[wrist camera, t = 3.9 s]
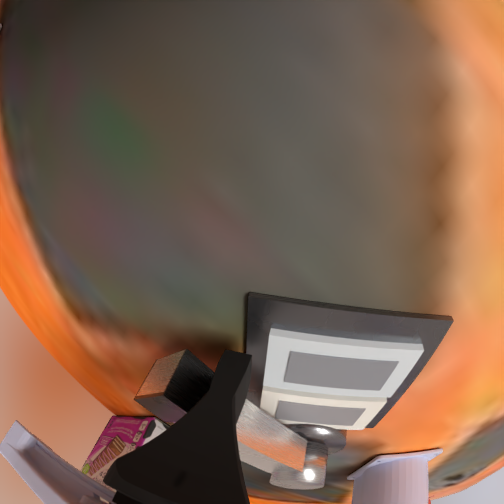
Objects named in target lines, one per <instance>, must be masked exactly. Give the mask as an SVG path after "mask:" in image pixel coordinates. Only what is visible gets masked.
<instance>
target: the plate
mask: <svg viewBox="0 0 504 504" xmlns="http://www.w3.org/2000/svg"><path fill="white" fill-rule="evenodd" d="M452 323H453V318H452V316H441V315H428V314H417V313H406V312H396V311H386V310H377V309H368V308H359V307H351V306H343V305H335V304H327V303H320V302H313V301H305V300H298V299H292V298H285V297H278V296H272V295H265V294H259V293H253V292H250V294H249V296H248V321H247V350H246V354H250V355H252V366H251V381H250V385H249V389H248V393H247V397H246V399H247V400H248V401H250V402H251V403H252V404H254V405H255V406H257V407H258V408H259V409H260V404H261V397H262V390H263V381H264V374H265V366H266V358H267V350H268V341H269V334H270V330H271V328H274V329H280V330H286V331H293V332H300V333H307V334H315V335H322V336H331V337H339V338H348V339H358V340H369V341H381V342H395V343H412V344H423V348H424V352H423V353H422V355H421V356H420V358H419V359H418V361H417V362H416V364H415V365H414V367H413V368H412V370H411V371H410V372H409V374H408V375H407V377H406V378H405V379H404V381H403V382H402V383H401V385H400V386H399V387H398V389H397V390H396V391H395V393H394V394H393V395H392V396H391V398H388V397H387V403H386V404H385V405H384V406H383V407H382V409H381V410H380V411H379V412H378V413H377V414H376V416H375V417H374V418H373V419H372V420H371V421H370V422H369V423H368V425H367V426H366V427H365V428H374V426H375V425H376V424H377V423H378V422H379V421H380V420H381V419H382V418H383V417H384V416H385V415H386V414H387V413H388V411H389V410H390V409H391V408H392V407H393V406H394V405H395V403H396V402H397V401H398V400H399V399H400V397H401V396H402V395H403V394H404V393H405V391H406V390H407V389H408V388H409V386H410V385H411V384H412V382H413V381H414V380H415V379H416V377H417V376H418V375H419V373H420V372H421V370H422V369H423V368H424V366H425V365H426V363H427V362H428V361H429V359H430V358H431V356H432V355H433V353H434V352H435V350H436V349H437V347H438V346H439V344H440V343H441V341H442V339H443V338H444V336H445V335H446V333H447V331H448V330H449V328H450V326H451V324H452Z"/></svg>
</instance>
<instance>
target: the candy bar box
mask: <svg viewBox="0 0 504 504" xmlns="http://www.w3.org/2000/svg"><path fill="white" fill-rule="evenodd" d="M169 427H170V426H168V425H167V424H165V423H164V422H162V421H160V420H159V419H157V418H156V417H125V416H112V417H111V419H110V420H109V422H108V424H107V426H106V427H105V429H104V431H103V432H102V434H101V436H100V437H99V439H98V441H97V443H96V444H95V446H94V448H93V450H92V452H91V453H90V455H89V456H88V458H87V460H86V462H85V464H84V465H83V467H82V469H81V472H82V473H84V474H85V475H87V476H89V477H90V478H92V479H93V480H95V481H97V482H98V483H100V484H102V485H103V486H105V487H107V488H109V489H110V490H112V491H114V492H116V490H115V489H113V488H111V487H109V486H108V485H106V484H105V483H103V479H104V477H105V475H106V473H107V471H108V469H109V468H110V466H111V465H112V463H113V462H114V461H115V460H116V459H117V458H119V457H121V456H123V455H125V454H127V453H129V452H131V451H133V450H135V449H137V448H139V447H140V446H142V445H144V444H145V443H147V442H149V441H150V440H152V439H154V438H155V437H157V436H158V435H160V434H161V433H162V432H164V431H165V430H167V429H168V428H169ZM100 500H102V501H104V502H106V503H109V504H112V503H110V502H108V501H106V500H105V499H103V498H101V497H100Z"/></svg>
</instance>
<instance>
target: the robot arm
mask: <svg viewBox="0 0 504 504" xmlns="http://www.w3.org/2000/svg"><path fill="white" fill-rule="evenodd" d="M251 366H252V355H250V354H245V353H240V352H235V351H230V350H225V351H224V353H223V355H222V357H221V359H220V361H219V363H218V365H217V368H216V371H215V374H214V377H213V380H212V383H211V386H210V389H209V391H208V392H207V393H206V394H205V395H204V396H203V397H202V398H201V399H200V400H199V401H198V402H197V403H196V405H195V406H194V407H193V408H191V409H190V410H189V411H188V412H187V413H186V414H185V415H184V416H183V417H182V418H180V419H179V420H178V421H177V422H176V423H174V424H173V425H172V426H170V427H169V428H168V429H167V430H165V431H164V432H162V433H161V434H160V435H158V436H157V437H155V438H154V439H152V440H150V441H149V442H147V443H145V444H144V445H142V446H140V447H139V448H137V449H135V450H133V451H131V452H129V453H127V454H125V455H123V456H121V457H119V458H117V459H116V460H115V461H114V462H113V463H112V465H111V466H110V468H109V469H108V471H107V473H106V475H105V477H104V479H103V483H105V484H106V485H108V486H109V487H111V488H113V489H115V490H116V492H114V491H112V490H110V489H109V488H107V487H105V486H103V485H102V484H100V483H98V482H97V481H95V480H93V479H92V478H90V477H89V476H87V475H85V474H84V473H82V472H81V471H79V470H78V469H76V468H75V467H74V466H72V465H70V464H69V463H68V462H66V461H65V460H64V459H62V458H61V457H60V456H58V455H57V454H56V453H54V452H53V450H52V449H51V448H50V447H48V446H47V445H46V444H44V443H43V442H42V441H41V440H40V439H39V438H37V437H36V436H35V435H33V434H32V433H31V432H29V431H28V430H27V429H26V428H25V427H24V426H23V425H22V424H20V423H19V422H18V421H17V420H16V421H15V422H14V424H13V425H12V427H11V428H10V430H9V431H8V433H7V434H6V436H5V438H4V439H3V441H2V442H1V444H0V453H1V454H2V455H3V456H4V457H5V459H6V460H7V461H8V462H9V463H10V464H11V466H12V467H13V468H14V469H15V470H16V471H17V473H18V474H19V475H20V476H21V478H22V479H23V480H24V481H25V482H26V484H27V485H28V486H29V487H30V488H31V489H32V490H33V492H35V494H36V495H37V496H38V497H39V498H40V499H41V500H42V502H43V503H44V504H109V503H106V502H104V501H102V500H100V497H101V498H103V499H105V500H106V501H108V502H110V503H112V504H250V502H249V498H248V494H247V491H246V486H245V482H244V477H243V473H242V467H241V461H240V455H239V449H238V441H237V431H236V424H237V421H238V419H239V416H240V414H241V411H242V409H243V406H244V403H245V400H246V397H247V393H248V389H249V385H250V381H251ZM442 452H443V449H442V448H441V449H435V450H429V451H422V452H414V453H405V454H394V455H380V456H377V457H376V458H374V459H373V460H371V461H370V462H369V463H367V464H366V465H364V466H363V467H361V468H360V469H358V470H357V471H355V472H354V473H352V474H351V475H349V476H347V480H354V487H353V496H352V504H428V461H430V460H431V459H433V458H435V457H436V456H438V455H439V454H441V453H442Z"/></svg>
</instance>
